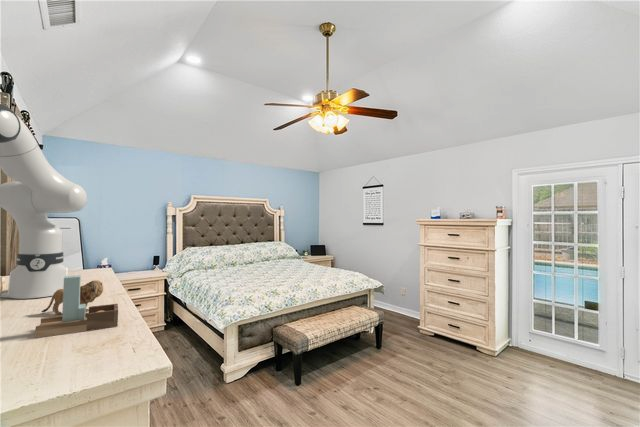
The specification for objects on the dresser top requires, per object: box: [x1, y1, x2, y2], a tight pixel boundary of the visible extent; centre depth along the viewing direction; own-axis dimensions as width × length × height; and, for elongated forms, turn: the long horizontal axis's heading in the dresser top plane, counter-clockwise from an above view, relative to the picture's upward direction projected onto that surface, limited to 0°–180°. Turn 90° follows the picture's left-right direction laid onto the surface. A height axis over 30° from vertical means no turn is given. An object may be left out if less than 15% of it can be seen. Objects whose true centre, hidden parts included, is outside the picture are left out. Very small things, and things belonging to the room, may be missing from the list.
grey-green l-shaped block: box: [61, 274, 87, 323], centre depth 75 cm, size 4×4×11 cm
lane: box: [34, 312, 88, 339], centre depth 74 cm, size 7×9×2 cm
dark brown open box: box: [86, 303, 119, 332], centre depth 78 cm, size 7×6×4 cm
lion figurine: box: [41, 279, 104, 316], centre depth 87 cm, size 15×5×9 cm, turn 106°
